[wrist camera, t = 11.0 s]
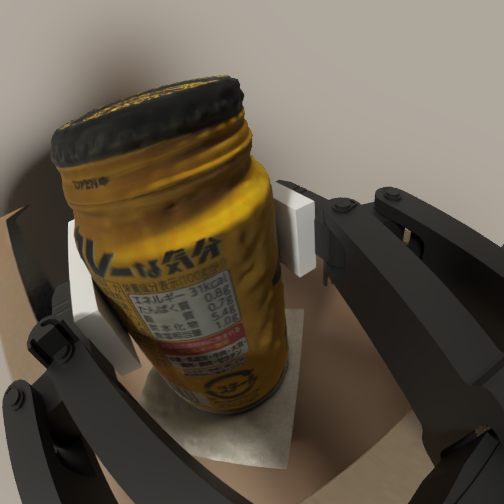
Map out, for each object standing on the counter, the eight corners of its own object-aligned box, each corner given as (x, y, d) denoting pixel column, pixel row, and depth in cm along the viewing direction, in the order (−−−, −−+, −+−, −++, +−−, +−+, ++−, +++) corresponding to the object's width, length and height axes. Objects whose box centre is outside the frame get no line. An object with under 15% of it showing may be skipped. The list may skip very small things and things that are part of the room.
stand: (305, 283, 25) (303, 238, 22) (430, 387, 16) (457, 349, 12) (100, 398, 19) (64, 365, 15) (176, 559, 9) (136, 568, 6)
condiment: (304, 311, 15) (283, 63, 8) (287, 470, 9) (186, 117, 2) (179, 305, 17) (103, 103, 10) (128, 436, 11) (-72, 220, 3)
